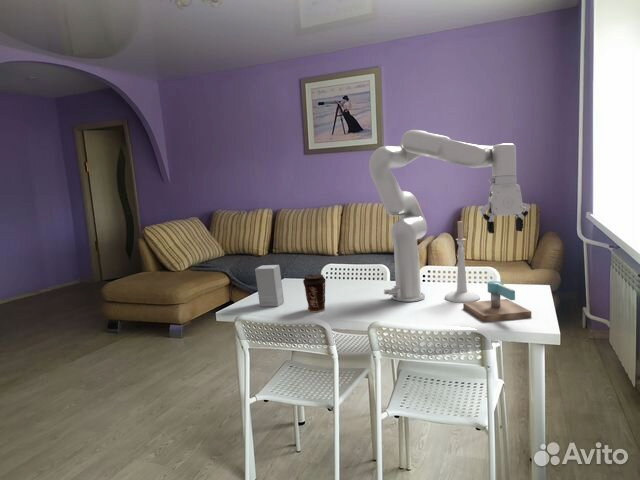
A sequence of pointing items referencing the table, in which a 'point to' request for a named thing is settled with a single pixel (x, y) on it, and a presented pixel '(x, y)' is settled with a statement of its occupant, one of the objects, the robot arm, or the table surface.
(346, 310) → the table surface
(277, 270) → the skincare box
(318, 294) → the coffee cup
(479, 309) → the post block
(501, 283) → the teal lever handle
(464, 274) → the candlestick
